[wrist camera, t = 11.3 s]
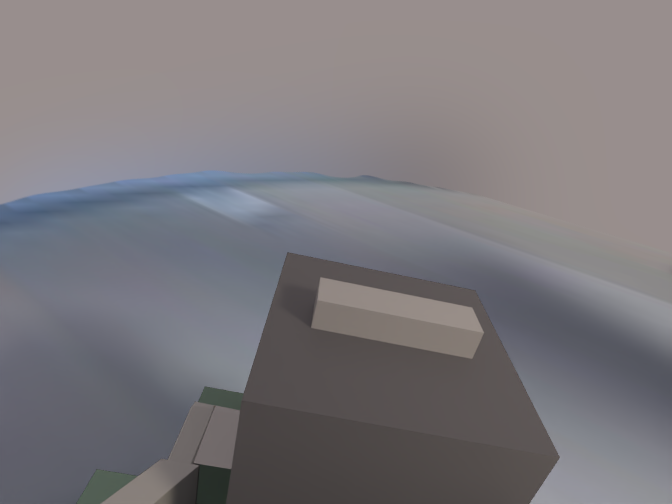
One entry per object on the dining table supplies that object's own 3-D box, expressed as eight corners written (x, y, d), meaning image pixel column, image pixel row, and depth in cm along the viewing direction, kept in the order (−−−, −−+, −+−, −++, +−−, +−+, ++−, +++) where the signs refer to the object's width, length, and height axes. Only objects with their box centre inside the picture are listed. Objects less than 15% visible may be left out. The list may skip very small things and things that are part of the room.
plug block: (382, 725, 10) (578, 428, 6) (196, 701, 10) (247, 367, 5) (373, 532, 15) (483, 269, 10) (241, 511, 14) (291, 229, 10)
